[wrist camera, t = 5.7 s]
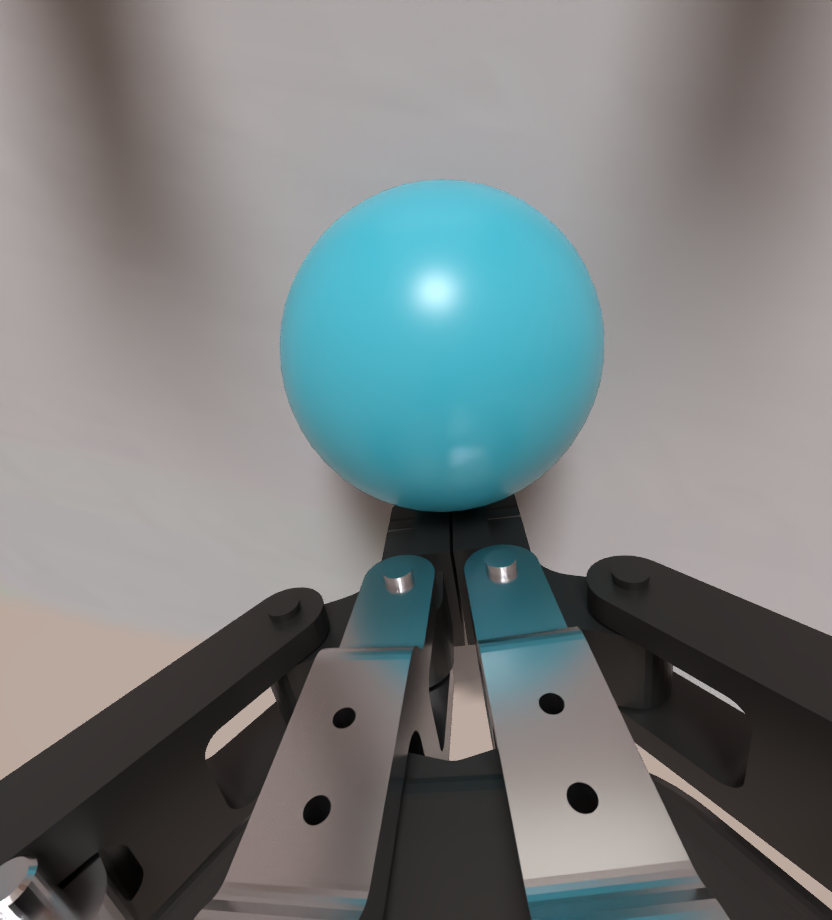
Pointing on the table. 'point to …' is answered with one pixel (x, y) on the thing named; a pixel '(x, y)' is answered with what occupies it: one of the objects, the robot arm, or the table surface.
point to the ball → (442, 345)
